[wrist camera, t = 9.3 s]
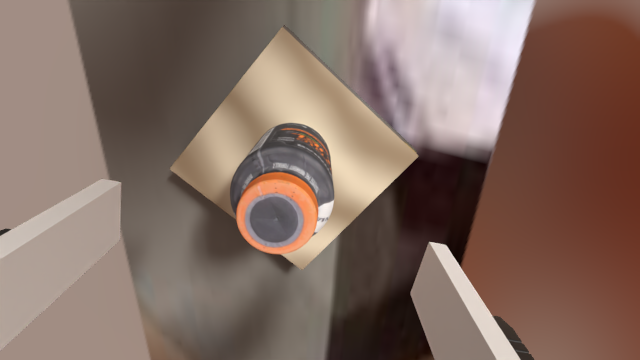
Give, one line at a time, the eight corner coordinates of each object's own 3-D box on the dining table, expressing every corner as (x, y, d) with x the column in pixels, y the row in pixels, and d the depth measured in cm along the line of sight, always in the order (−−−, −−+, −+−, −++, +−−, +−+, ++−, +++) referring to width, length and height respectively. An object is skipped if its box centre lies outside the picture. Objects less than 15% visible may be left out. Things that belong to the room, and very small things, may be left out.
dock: (286, 26, 27) (282, 22, 24) (412, 146, 30) (422, 155, 27) (180, 159, 31) (165, 169, 28) (303, 255, 34) (302, 272, 31)
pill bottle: (346, 155, 27) (363, 215, 17) (297, 207, 29) (285, 294, 18) (287, 104, 26) (265, 135, 15) (239, 162, 28) (189, 226, 17)
